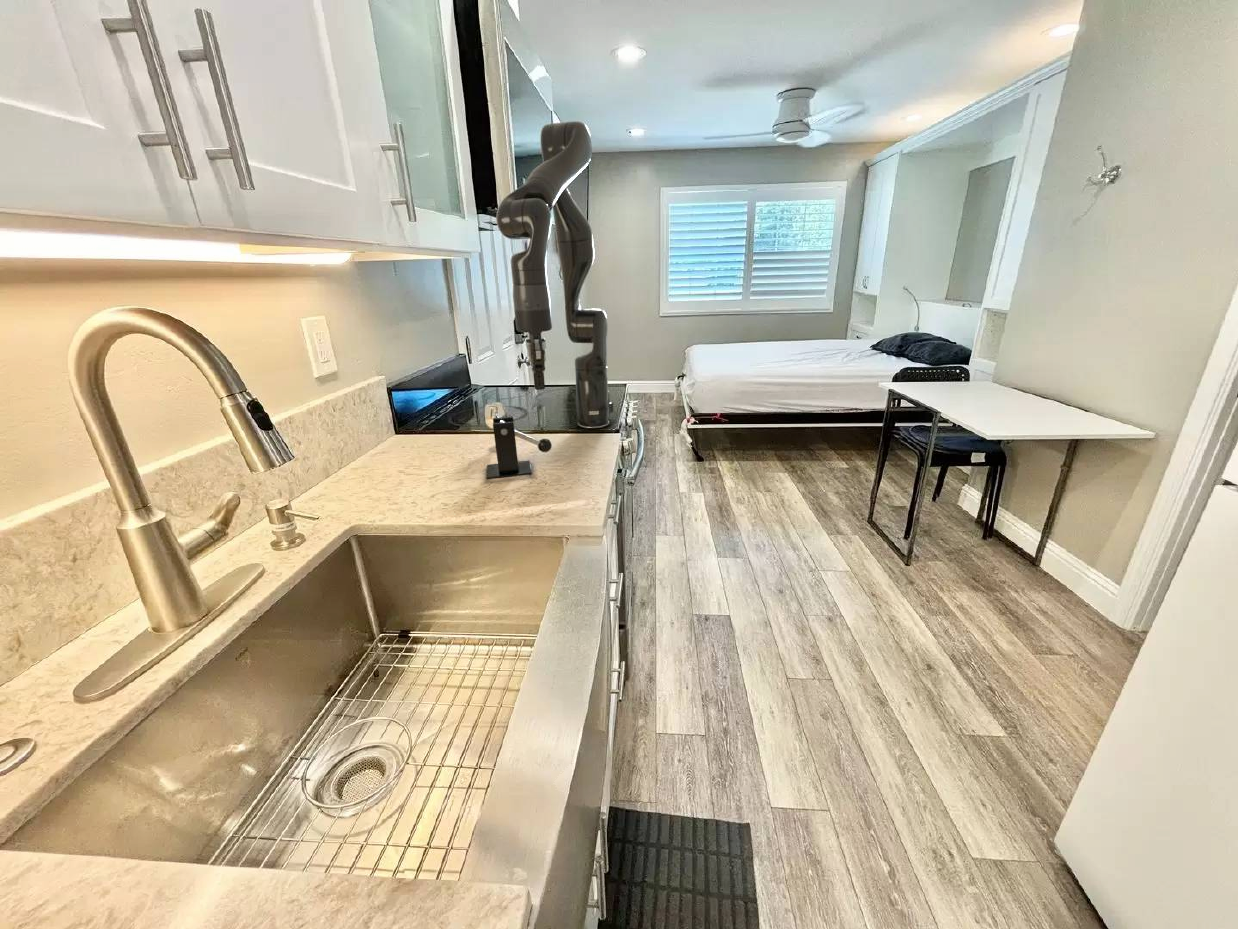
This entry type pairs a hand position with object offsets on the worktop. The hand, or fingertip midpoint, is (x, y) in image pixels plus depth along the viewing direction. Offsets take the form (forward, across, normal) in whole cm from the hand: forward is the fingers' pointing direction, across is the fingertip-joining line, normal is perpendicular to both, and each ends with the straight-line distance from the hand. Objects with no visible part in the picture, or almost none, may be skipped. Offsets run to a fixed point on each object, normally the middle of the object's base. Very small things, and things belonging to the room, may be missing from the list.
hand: (539, 388), depth 109 cm
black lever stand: (+19, -1, +9) cm, 21 cm away
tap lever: (+12, -1, +5) cm, 13 cm away
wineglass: (+19, +17, +11) cm, 28 cm away
